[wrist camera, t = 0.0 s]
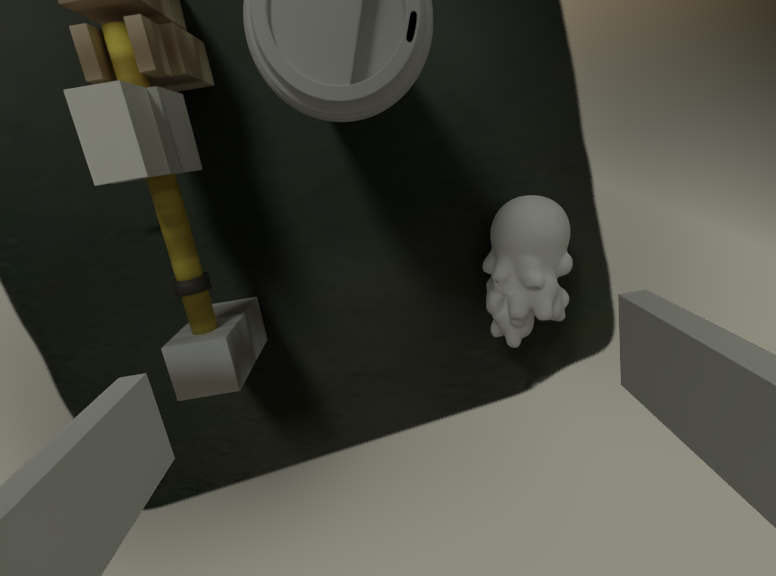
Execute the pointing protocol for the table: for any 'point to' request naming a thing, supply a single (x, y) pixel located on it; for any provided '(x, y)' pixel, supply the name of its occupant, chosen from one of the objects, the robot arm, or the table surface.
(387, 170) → the table surface
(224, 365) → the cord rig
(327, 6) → the coffee cup
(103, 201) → the table surface
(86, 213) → the table surface
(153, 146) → the grey stepped block
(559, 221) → the figurine
